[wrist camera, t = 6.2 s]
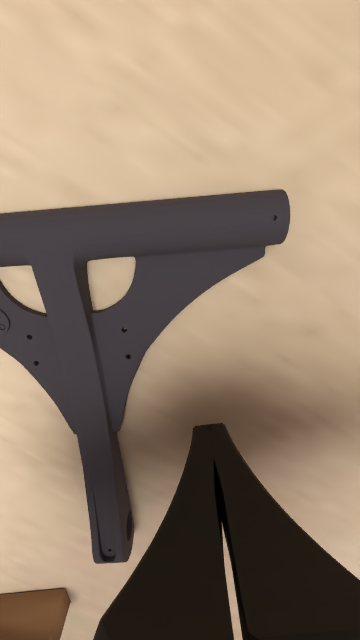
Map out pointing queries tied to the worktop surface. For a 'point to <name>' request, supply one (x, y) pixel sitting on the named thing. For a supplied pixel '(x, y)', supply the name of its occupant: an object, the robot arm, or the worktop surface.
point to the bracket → (119, 313)
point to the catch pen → (33, 615)
